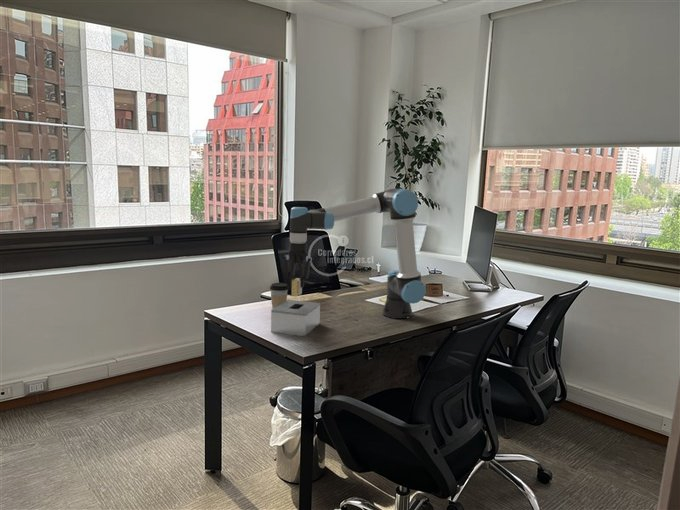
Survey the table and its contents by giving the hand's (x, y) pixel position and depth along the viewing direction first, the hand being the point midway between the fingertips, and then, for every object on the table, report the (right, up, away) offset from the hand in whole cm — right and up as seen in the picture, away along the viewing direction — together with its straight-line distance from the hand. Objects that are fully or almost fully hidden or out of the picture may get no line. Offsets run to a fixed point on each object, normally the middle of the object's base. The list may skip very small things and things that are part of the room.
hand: (296, 293), depth 223 cm
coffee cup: (-11, -12, +24) cm, 29 cm away
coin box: (0, -16, +2) cm, 16 cm away
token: (0, 0, 0) cm, 0 cm away
